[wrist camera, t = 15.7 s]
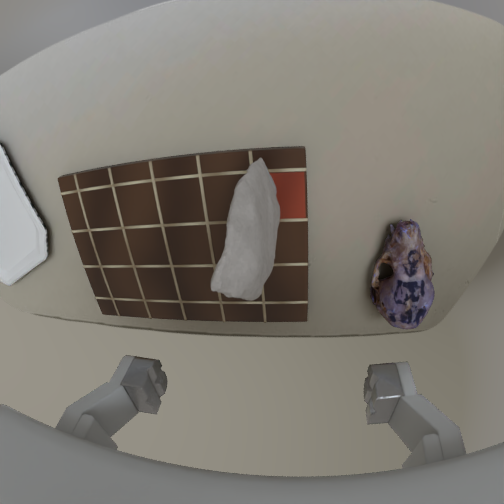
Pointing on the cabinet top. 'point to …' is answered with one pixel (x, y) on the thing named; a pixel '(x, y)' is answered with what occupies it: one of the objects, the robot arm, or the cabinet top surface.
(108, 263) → the board
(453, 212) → the cabinet top surface
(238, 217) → the stone tool
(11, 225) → the plate
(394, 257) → the skull
